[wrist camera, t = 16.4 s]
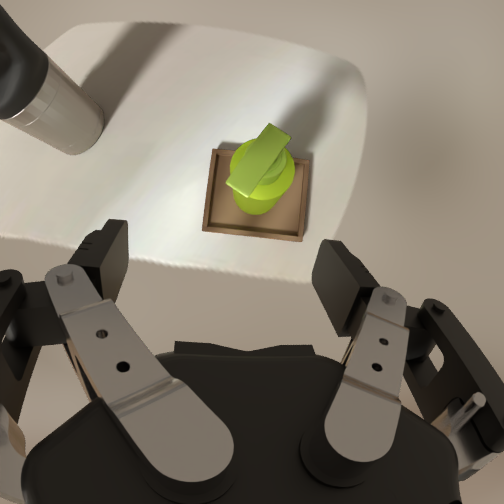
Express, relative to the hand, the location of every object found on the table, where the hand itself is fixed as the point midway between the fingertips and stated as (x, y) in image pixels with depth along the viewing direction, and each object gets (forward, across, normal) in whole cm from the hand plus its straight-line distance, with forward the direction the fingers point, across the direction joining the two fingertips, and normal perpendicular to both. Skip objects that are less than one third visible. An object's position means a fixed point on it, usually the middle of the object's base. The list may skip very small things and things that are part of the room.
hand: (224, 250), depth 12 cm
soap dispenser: (+28, -6, +6) cm, 29 cm away
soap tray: (+28, -7, +7) cm, 30 cm away
